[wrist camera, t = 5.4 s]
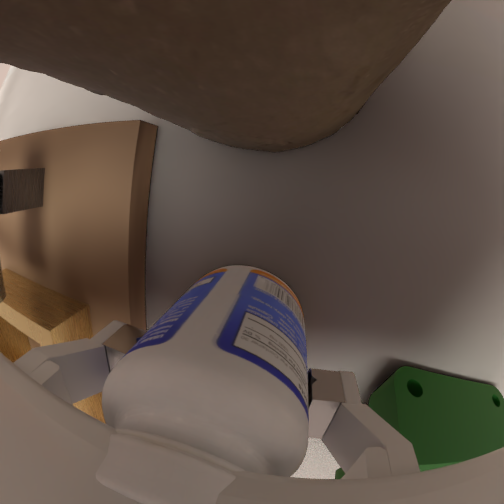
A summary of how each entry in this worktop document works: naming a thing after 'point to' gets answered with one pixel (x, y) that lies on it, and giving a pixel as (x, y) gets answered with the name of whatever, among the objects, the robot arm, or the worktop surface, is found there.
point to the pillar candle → (222, 58)
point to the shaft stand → (73, 235)
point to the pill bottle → (210, 392)
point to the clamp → (440, 416)
